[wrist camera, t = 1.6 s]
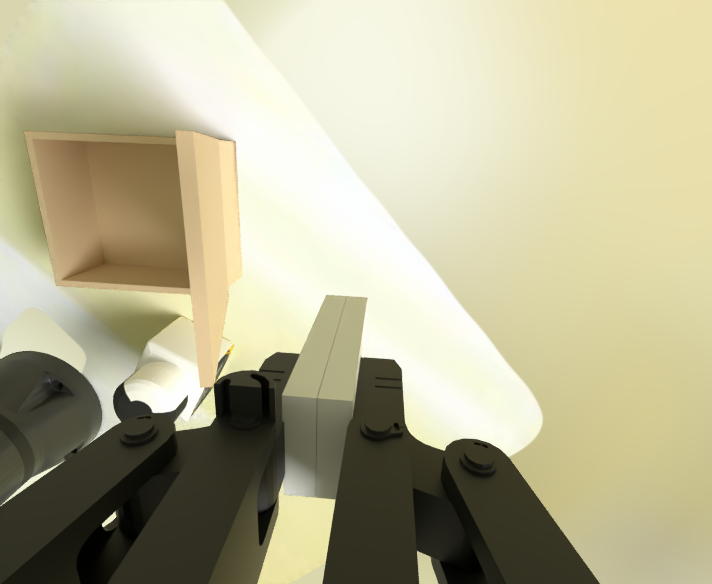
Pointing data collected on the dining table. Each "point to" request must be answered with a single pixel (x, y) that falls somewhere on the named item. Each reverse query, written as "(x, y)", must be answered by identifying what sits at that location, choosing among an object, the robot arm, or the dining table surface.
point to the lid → (204, 245)
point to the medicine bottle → (167, 376)
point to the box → (122, 210)
